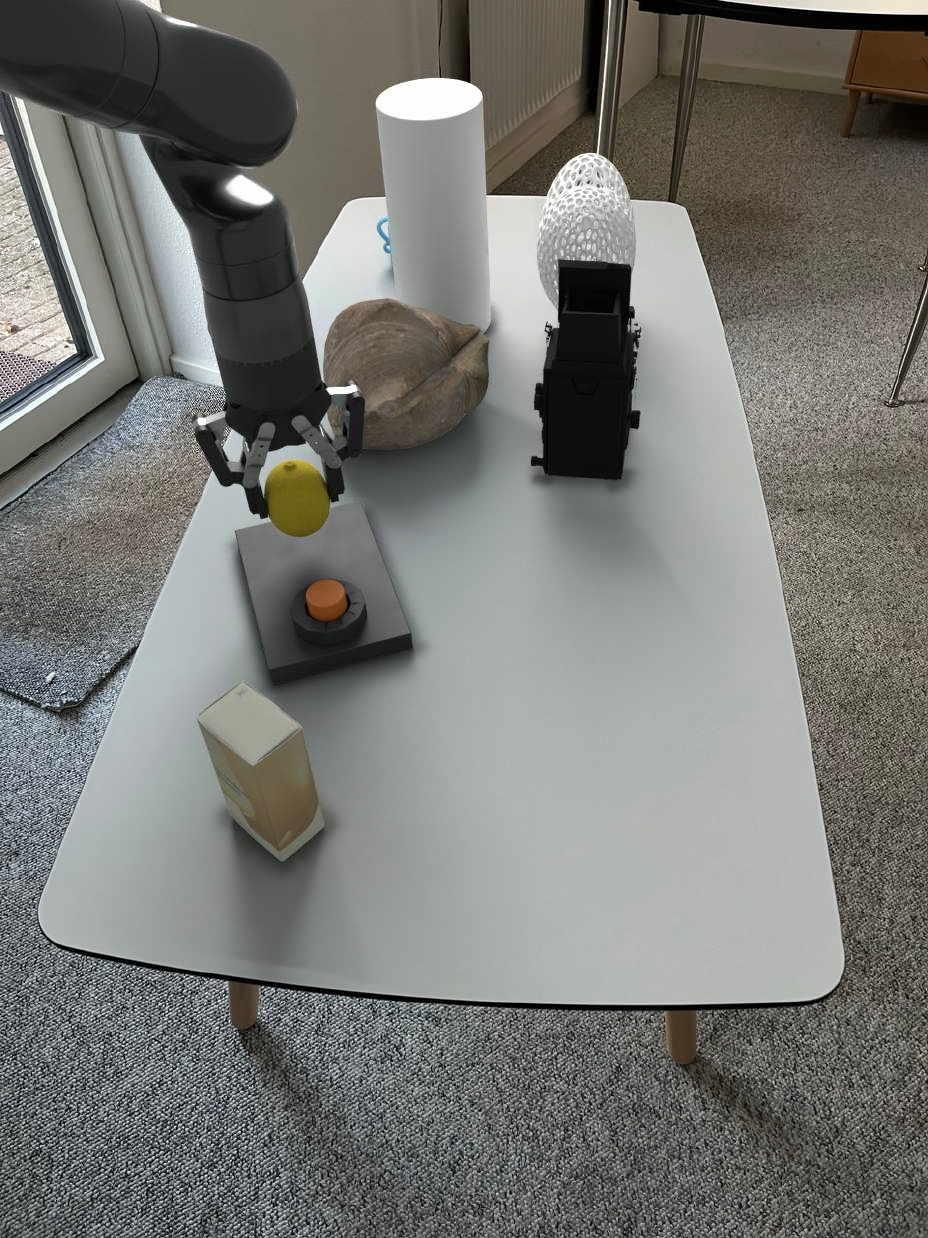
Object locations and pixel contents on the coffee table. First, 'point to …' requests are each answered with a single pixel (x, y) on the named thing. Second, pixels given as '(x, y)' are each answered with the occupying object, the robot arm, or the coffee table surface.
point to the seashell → (405, 371)
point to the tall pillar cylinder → (437, 196)
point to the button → (326, 600)
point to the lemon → (296, 498)
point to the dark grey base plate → (296, 563)
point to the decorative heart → (585, 219)
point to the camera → (589, 373)
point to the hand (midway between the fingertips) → (298, 503)
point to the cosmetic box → (262, 769)
